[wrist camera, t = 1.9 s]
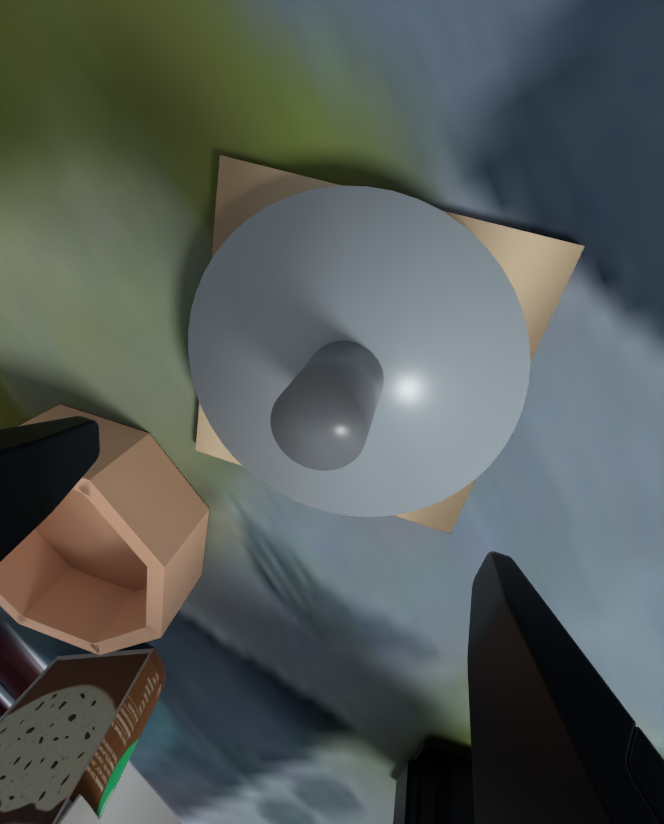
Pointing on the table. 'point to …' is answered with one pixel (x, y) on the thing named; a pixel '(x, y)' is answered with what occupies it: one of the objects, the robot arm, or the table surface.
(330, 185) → the mat
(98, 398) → the table surface
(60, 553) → the bowl
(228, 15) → the table surface
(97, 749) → the food container
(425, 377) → the lid
